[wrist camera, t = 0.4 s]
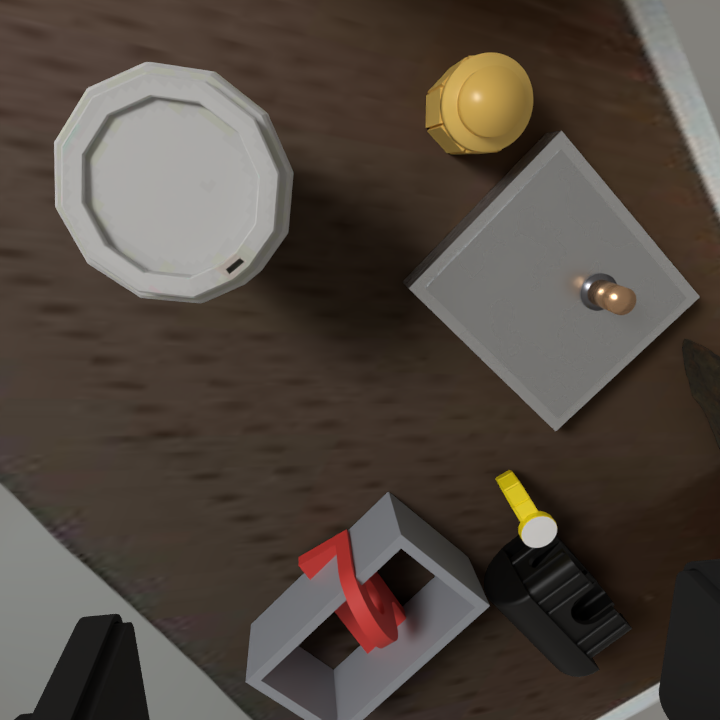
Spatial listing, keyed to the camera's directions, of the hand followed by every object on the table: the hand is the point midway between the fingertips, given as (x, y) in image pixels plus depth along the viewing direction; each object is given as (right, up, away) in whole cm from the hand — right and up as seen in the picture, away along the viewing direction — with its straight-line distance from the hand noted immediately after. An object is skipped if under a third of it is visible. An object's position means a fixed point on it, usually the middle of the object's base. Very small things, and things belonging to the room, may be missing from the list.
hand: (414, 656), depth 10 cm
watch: (+12, -6, +39) cm, 41 cm away
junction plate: (+13, +11, +34) cm, 38 cm away
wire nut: (+6, +22, +30) cm, 37 cm away
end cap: (+14, -14, +42) cm, 47 cm away
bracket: (-1, -14, +40) cm, 43 cm away
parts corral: (-1, -14, +40) cm, 43 cm away
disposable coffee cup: (-11, +17, +30) cm, 36 cm away
